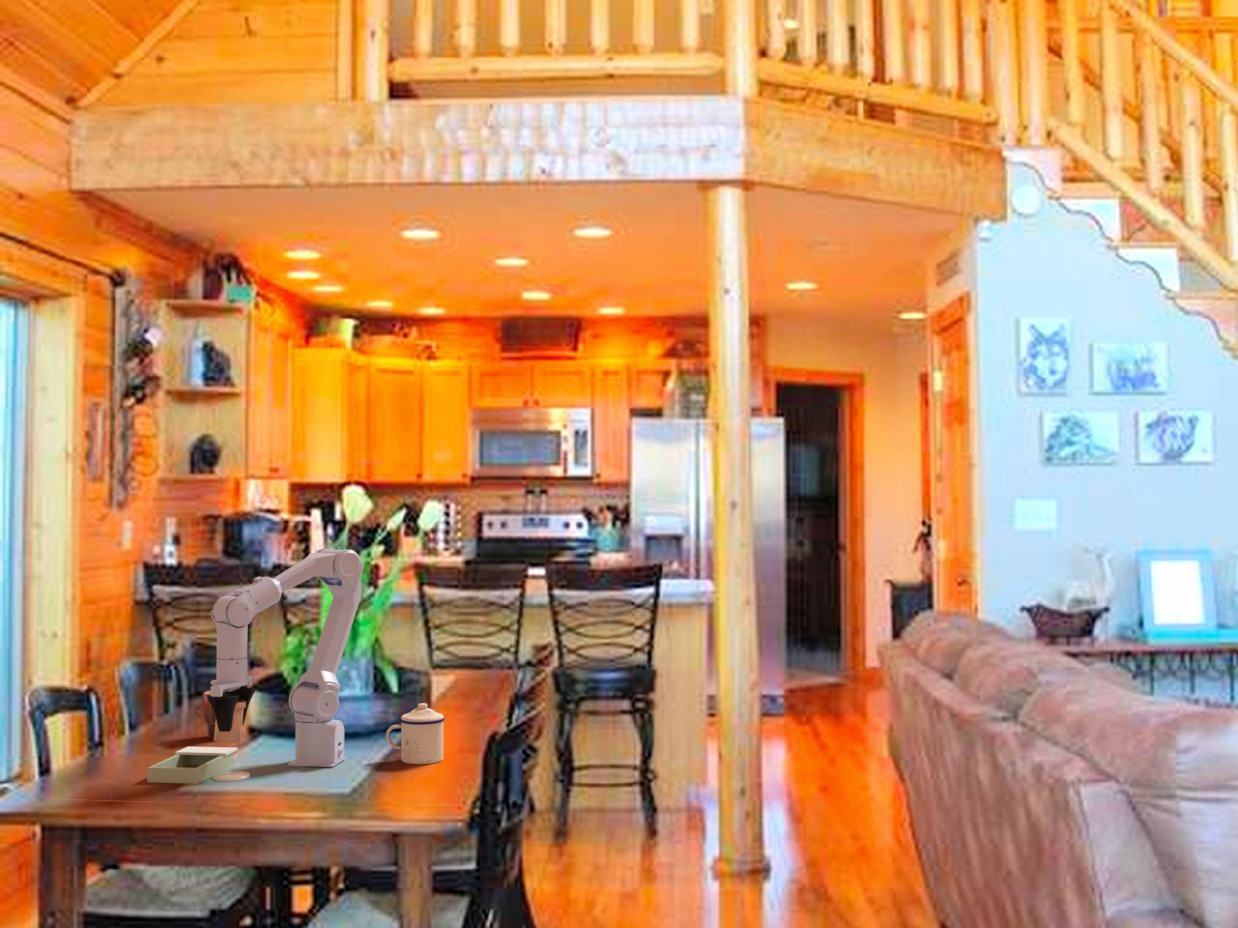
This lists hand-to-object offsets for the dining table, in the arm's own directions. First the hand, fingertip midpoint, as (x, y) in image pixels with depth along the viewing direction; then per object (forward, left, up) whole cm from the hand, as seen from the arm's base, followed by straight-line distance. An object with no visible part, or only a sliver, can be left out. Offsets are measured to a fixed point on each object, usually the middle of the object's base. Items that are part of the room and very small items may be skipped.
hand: (231, 728), depth 240 cm
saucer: (0, 0, -10) cm, 10 cm away
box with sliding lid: (+9, -2, -10) cm, 13 cm away
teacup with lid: (-31, -20, -10) cm, 38 cm away
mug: (+19, -37, -10) cm, 43 cm away
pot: (+1, 0, -2) cm, 2 cm away
